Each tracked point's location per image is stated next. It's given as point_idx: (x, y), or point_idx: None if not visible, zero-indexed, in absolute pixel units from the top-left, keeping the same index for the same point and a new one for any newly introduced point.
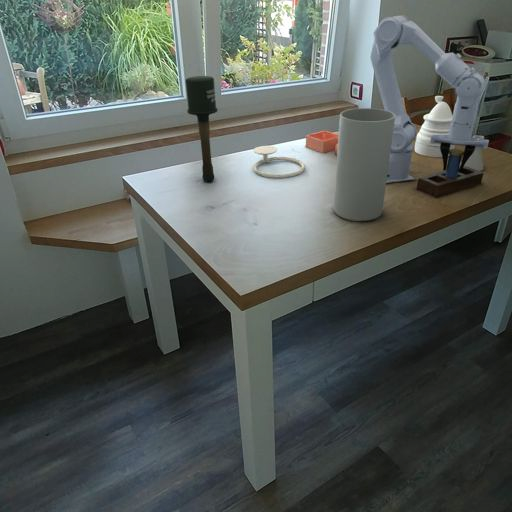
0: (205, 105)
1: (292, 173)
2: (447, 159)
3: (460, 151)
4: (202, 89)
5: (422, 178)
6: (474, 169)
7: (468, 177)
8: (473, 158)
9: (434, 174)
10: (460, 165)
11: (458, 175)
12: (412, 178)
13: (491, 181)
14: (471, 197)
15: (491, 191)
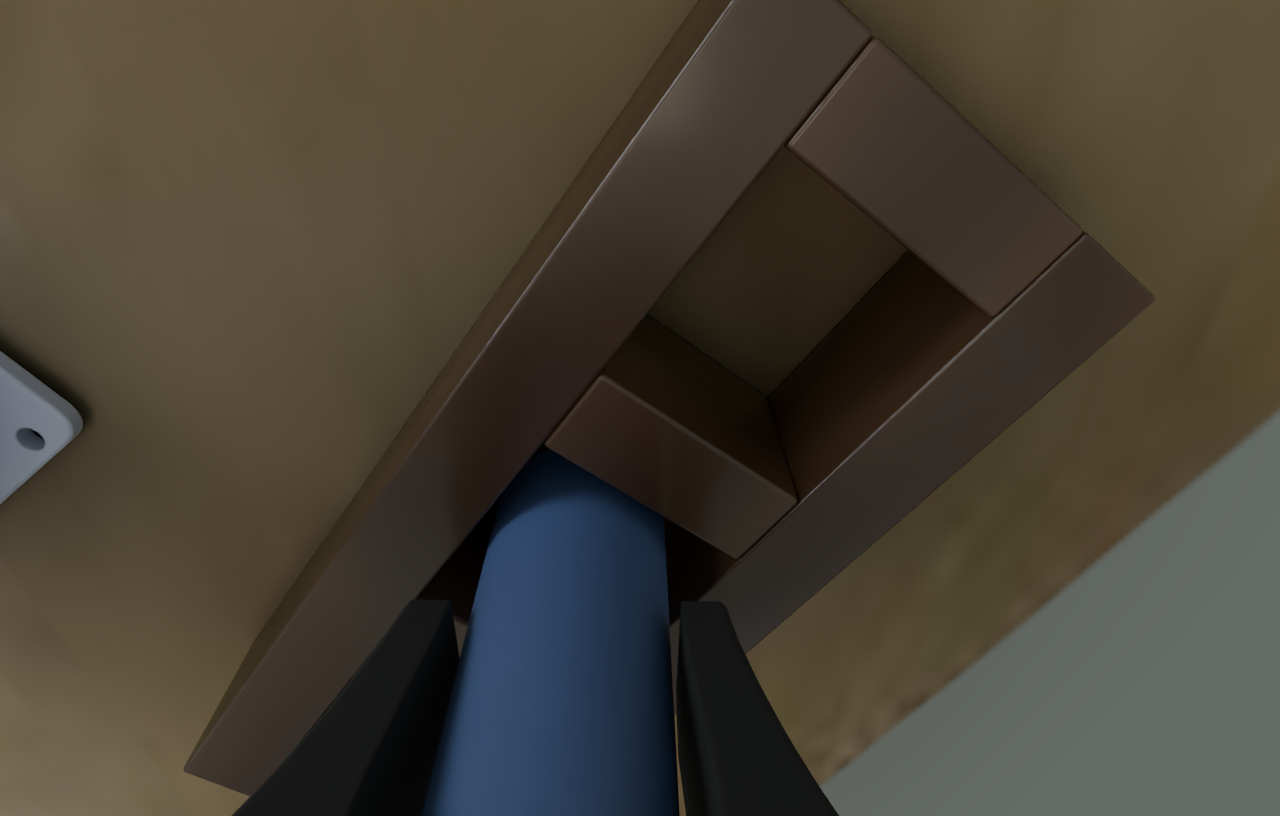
0: None
1: None
2: (395, 786)
3: None
4: None
5: (238, 780)
6: (1007, 178)
7: (833, 573)
8: None
9: (330, 631)
10: (688, 756)
11: (683, 518)
12: (56, 442)
13: (1267, 30)
14: (840, 652)
15: (1113, 443)
